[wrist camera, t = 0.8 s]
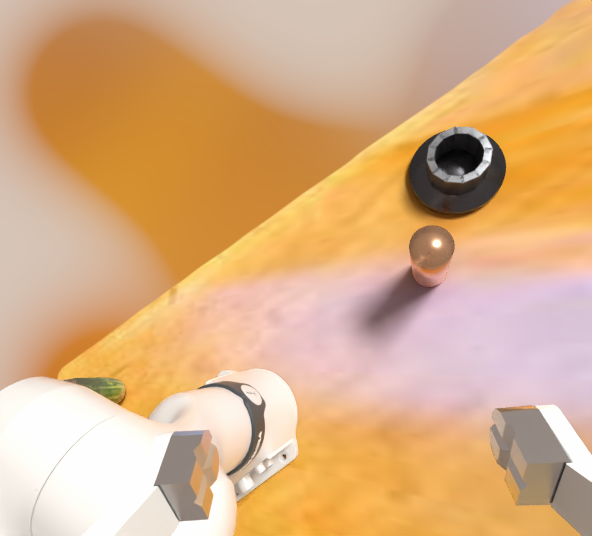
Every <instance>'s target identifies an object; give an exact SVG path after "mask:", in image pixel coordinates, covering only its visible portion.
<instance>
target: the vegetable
mask: <svg viewBox="0 0 592 536" xmlns="http://www.w3.org/2000/svg"><path fill="white" fill-rule="evenodd" d="M63 381H67V382H70V383H74V384H78V385H81V386H85V387H87V388H89V389H91V390H93V391H95V392H97V393H98V394H100V395H102V396H104V397H105V398H107V399H109V400H111V401H112V402H114V403H116V404H117V403H119V402H120V401H121V400H122V399H123V398H124V396H125V394H126V387H125V385H124V384H123V383H122V382H121V381H119V380H117V379H113V378H101V377H98V378H74V379H68V380H63Z"/></svg>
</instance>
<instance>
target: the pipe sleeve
mask: <svg viewBox="0 0 592 536" xmlns="http://www.w3.org/2000/svg"><path fill="white" fill-rule="evenodd" d="M505 173H506V162H505V158H504V154H503V152H502V150H501V149H500V147H499V145H498V144H497V143H496V142H495V141H494V140H493V139H492V138H490V137H489V136H487V135H486V134H483V133H481V132H479V131H477V130H476V129H474V128H472V127H454V128H451V129H449V130H447V131H443V132H441V133H438V134H436V135H434V136H432V137H431V138H429V139H428V140H427V141H425V142H424V143H423V144H422V145H421V146H420V147H419V149H418V150H417V151H416V153H415V155H414V157H413V159H412V161H411V165H410V183H411V187H412V190H413V192H414V194H415V196H416V197H417V199H418V200H419V201H420V202H421V203H422V204H423V205H424V206H426V207H427V208H429V209H431V210H433V211H435V212H438V213H441V214H447V215H461V214H466V213H470V212H473V211H475V210H477V209H479V208H481V207H483V206H484V205H486V204H487V203H488V202H490V201H491V200H492V199H493V198H494V196H495V195H496V194H497V192H498V191H499V189H500V187H501V185H502V183H503V180H504V177H505Z"/></svg>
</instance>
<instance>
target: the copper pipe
mask: <svg viewBox="0 0 592 536" xmlns="http://www.w3.org/2000/svg"><path fill="white" fill-rule="evenodd" d="M409 249H410V257H411V264H412V272H413V276H414V279H415V280H416V281H417V282H418V283H419V284H420V285H422V286H425V287H434V286H437V285H439V284H440V283H441V282H442V281H443V280H444V279H445V276H446V273H447V270H448V267H449V264H450V261H451V258H452V255H453V252H454V240H453V237H452V236H451V234H450V233H449V232H448V231H447V230H446V229H444V228H442V227H439V226H425V227H423V228H420V229H419V230H417V231H416V232H415V233H414V234H413V236H412V238H411V240H410V244H409Z"/></svg>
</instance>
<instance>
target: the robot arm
mask: <svg viewBox="0 0 592 536" xmlns="http://www.w3.org/2000/svg"><path fill="white" fill-rule="evenodd" d="M492 418H493V420H494V423H495V424H494V425H493V426H492V427H491V428H490V434H489V438H490V445H491V448H492V452H493V455H494V457H495V459H496V462H497V464H499V465H500V466H501V467H502V468H504V469H505V470H506V475H505V482H506V484H507V486H508V488H509V491H510V493H511V495H512V497H513V499H514V501H515V504H516V505H551V507H552V508H553V509H554V510H555V511H556V512H557V513H558V514H560V515H561V516H562V517H563V518H564V519H565V520H566V521H567V522H568V523H569V524H570V525H571V526H572V527H573V528H574V529H576V530H577V531H578V532H579V533H580V534H581V535H582V536H592V455H591V454H590V452H589V451H588V450H587V448H586V447H585V445H584V444H583V442H582V441H581V439H580V438H579V437H578V435H577V434H576V432H575V431H574V429H573V428H572V426H571V425H570V424H569V422H568V421H567V419H566V418H565V416H564V415H563V414H562V412H561V411H560V409H559V408H558V407H557V406H555V405H552V404H550V405H539V406H520V407H509V408H497V409H495V410H494V411H493V415H492ZM296 426H297V406H296V401H295V398H294V396H293V393H292V391H291V390H290V388H289V386H288V385H287V384H286V383H285V381H284V380H283V379H282V378H280V377H279V376H278V375H276V374H275V373H273V372H271V371H268V370H265V369H248V370H245V371H240V372H237V371H233V370H223V371H221V372H220V373H219V374H218V376H217V378H214V379H211V380H209V381H207V382H206V385H204V386H202V387H200V388H198V389H196V390H191V391H186V392H181V393H176V394H173V395H171V396H169V397H167V398H166V399H164V400H163V401H162V402H161V403H160V404H159V405H158V406H157V407H156V408H155V409H154V410H153V412H152V413H151V414H150V416H149V417H148V419H147V418H144V417H142V416H140V415H138V414H135V413H132V412H130V411H128V410H127V409H125V408H123V407H121V406H119V405H118V404H116V403H114V402H112V401H111V400H109V399H107V398H105V397H104V396H102V395H100V394H98V393H97V392H95V391H93V390H91V389H89V388H87V387H85V386H81V385H78V384H74V383H70V382H67V381H62V380H57V379H53V378H48V377H33V378H28V379H24V380H21V381H18V382H16V383H14V384H12V385H10V386H8V387H6V388H4V389H3V390H1V391H0V536H234V532H235V527H236V517H237V503H236V502H238V501H239V500H240V499H242V498H243V497H244V496H246V495H247V494H248V493H250V492H251V491H253V490H254V489H255V488H257V487H258V486H259V485H261V484H262V483H263V482H265V481H266V480H267V479H269V478H270V477H272V476H273V475H274V474H276V473H277V472H278V471H280V470H281V469H282V468H284V467H285V466H286V465H288V464H289V463H290V462H292V461H293V460H294V459H296V458H297V456H298V444H297V439H296ZM283 454H285V455H286V459H285V458H284V457H283Z"/></svg>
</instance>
